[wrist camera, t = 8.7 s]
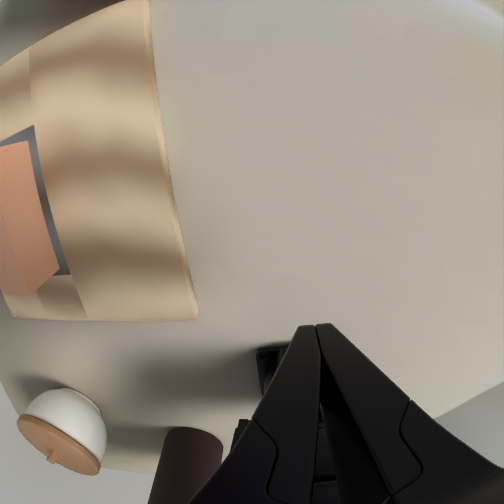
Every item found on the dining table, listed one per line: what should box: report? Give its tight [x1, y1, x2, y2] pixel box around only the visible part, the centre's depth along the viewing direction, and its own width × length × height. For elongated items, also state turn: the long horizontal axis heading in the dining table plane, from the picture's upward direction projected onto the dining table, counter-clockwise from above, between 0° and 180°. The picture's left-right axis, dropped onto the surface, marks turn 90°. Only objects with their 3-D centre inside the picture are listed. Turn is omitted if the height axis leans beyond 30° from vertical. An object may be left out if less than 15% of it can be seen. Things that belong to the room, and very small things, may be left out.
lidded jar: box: [17, 388, 107, 475], centre depth 25 cm, size 11×11×9 cm
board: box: [0, 0, 199, 321], centre depth 18 cm, size 22×20×1 cm
